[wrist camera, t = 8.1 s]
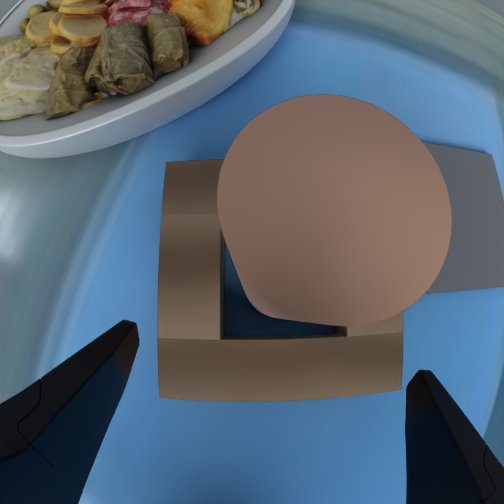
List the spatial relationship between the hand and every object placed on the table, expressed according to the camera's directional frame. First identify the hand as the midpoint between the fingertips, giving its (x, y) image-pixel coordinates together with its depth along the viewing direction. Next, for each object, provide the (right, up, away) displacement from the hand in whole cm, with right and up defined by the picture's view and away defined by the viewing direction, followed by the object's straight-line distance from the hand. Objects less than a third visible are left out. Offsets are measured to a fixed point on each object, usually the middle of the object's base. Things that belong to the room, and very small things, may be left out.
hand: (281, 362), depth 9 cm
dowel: (+1, +2, +9) cm, 9 cm away
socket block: (+1, +2, +9) cm, 9 cm away
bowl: (-12, +23, +13) cm, 29 cm away
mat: (+13, +6, +9) cm, 17 cm away
